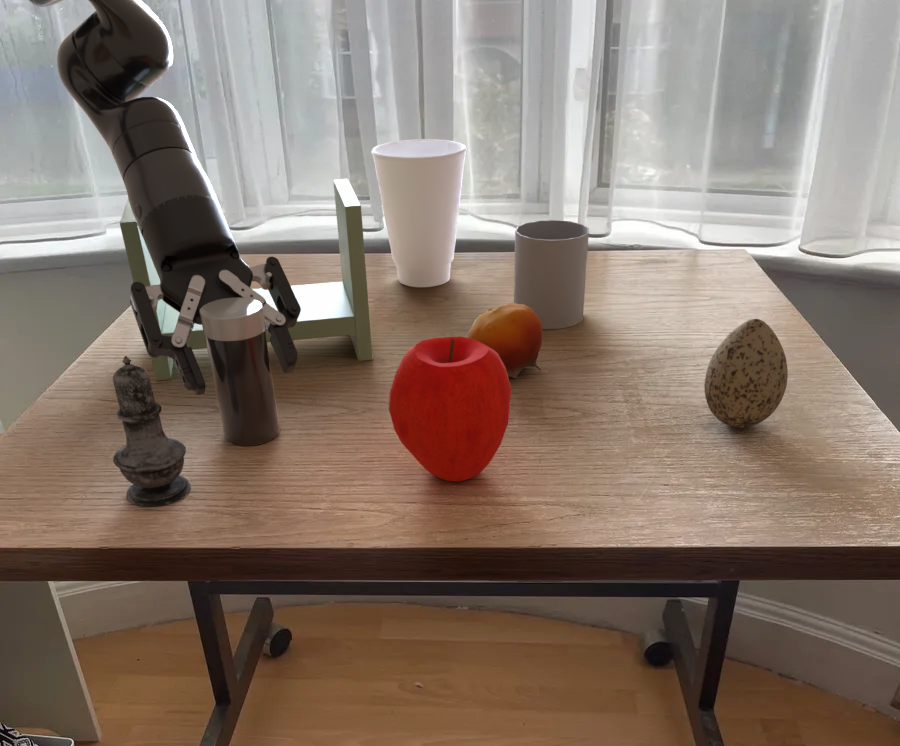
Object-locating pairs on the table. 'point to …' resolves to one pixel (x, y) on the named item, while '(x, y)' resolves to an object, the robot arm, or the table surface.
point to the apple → (451, 405)
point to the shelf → (321, 304)
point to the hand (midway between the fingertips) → (246, 380)
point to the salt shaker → (146, 443)
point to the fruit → (510, 335)
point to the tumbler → (241, 369)
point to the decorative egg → (746, 375)
